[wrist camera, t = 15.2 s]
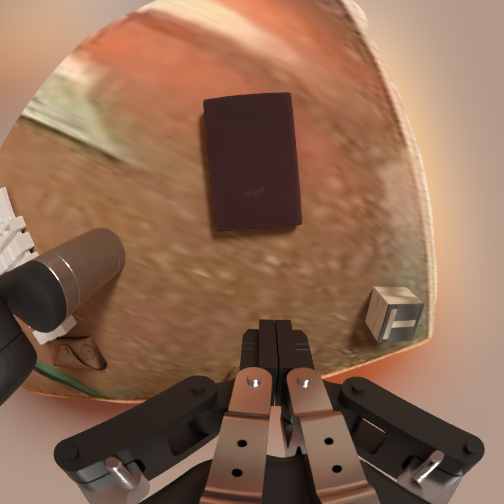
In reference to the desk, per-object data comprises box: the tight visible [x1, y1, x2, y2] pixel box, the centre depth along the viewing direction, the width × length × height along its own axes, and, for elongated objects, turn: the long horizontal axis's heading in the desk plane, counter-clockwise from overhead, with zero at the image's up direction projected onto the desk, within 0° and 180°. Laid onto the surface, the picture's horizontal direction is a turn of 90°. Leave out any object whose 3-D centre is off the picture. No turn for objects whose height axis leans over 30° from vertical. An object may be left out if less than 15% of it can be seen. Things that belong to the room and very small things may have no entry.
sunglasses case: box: [49, 336, 107, 370], centre depth 50 cm, size 18×7×7 cm
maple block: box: [365, 287, 424, 343], centre depth 41 cm, size 7×7×7 cm
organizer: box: [0, 187, 77, 344], centre depth 43 cm, size 13×5×35 cm
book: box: [203, 92, 302, 231], centre depth 37 cm, size 13×19×3 cm, turn 5°
